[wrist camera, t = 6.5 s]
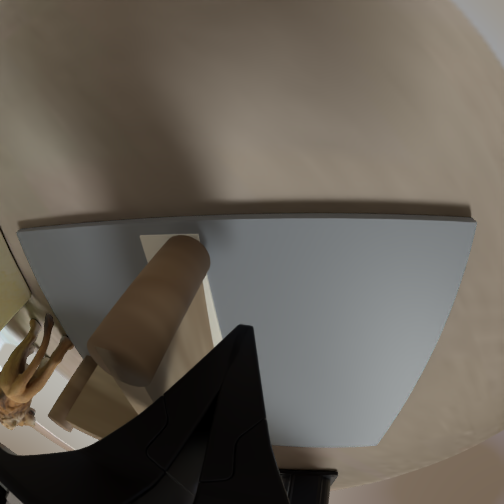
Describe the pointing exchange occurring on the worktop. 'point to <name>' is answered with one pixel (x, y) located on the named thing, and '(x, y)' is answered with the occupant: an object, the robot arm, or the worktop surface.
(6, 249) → the toy refrigerator
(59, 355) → the lion figurine
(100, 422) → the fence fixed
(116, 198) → the worktop surface
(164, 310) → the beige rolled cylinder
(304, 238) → the board
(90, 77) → the worktop surface
